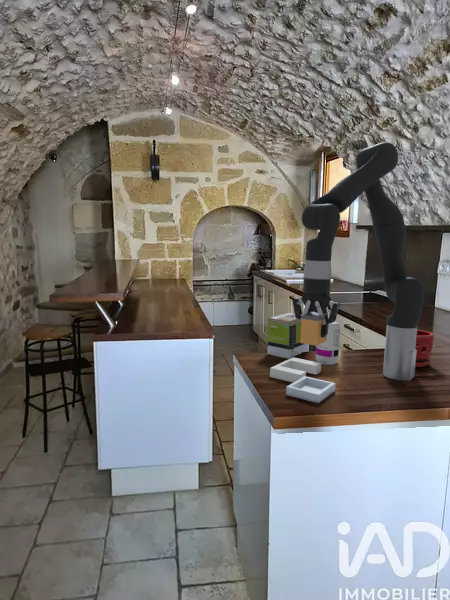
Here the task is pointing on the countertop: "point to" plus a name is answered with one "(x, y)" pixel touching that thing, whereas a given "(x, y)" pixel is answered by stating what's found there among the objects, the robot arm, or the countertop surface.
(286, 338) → the tea box
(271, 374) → the bay
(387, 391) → the countertop surface
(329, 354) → the supplement can
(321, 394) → the tray
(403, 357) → the robot arm
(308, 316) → the orange grey block
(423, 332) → the plant pot
